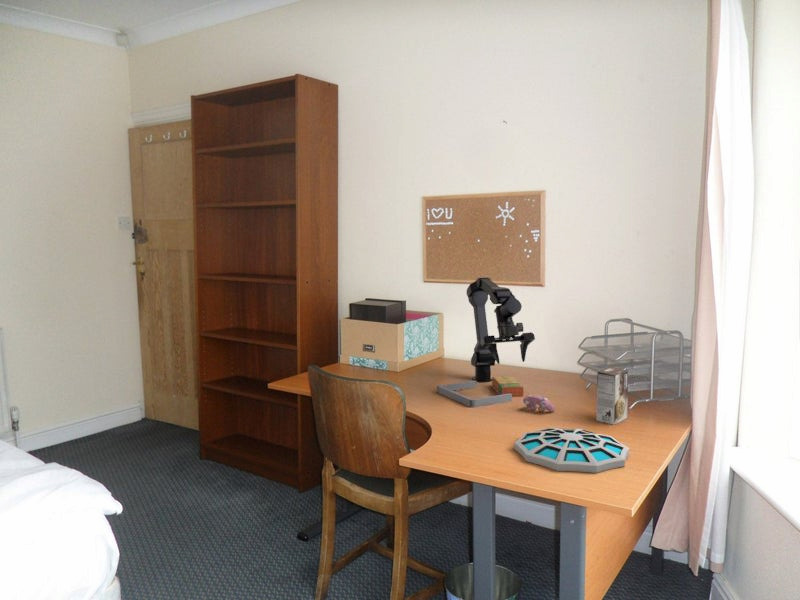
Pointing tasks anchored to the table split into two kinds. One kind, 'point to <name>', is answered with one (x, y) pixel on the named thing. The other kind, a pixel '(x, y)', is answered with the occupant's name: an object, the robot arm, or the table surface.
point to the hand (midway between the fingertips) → (511, 362)
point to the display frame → (449, 392)
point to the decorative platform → (572, 450)
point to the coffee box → (612, 395)
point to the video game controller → (538, 403)
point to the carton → (507, 386)
